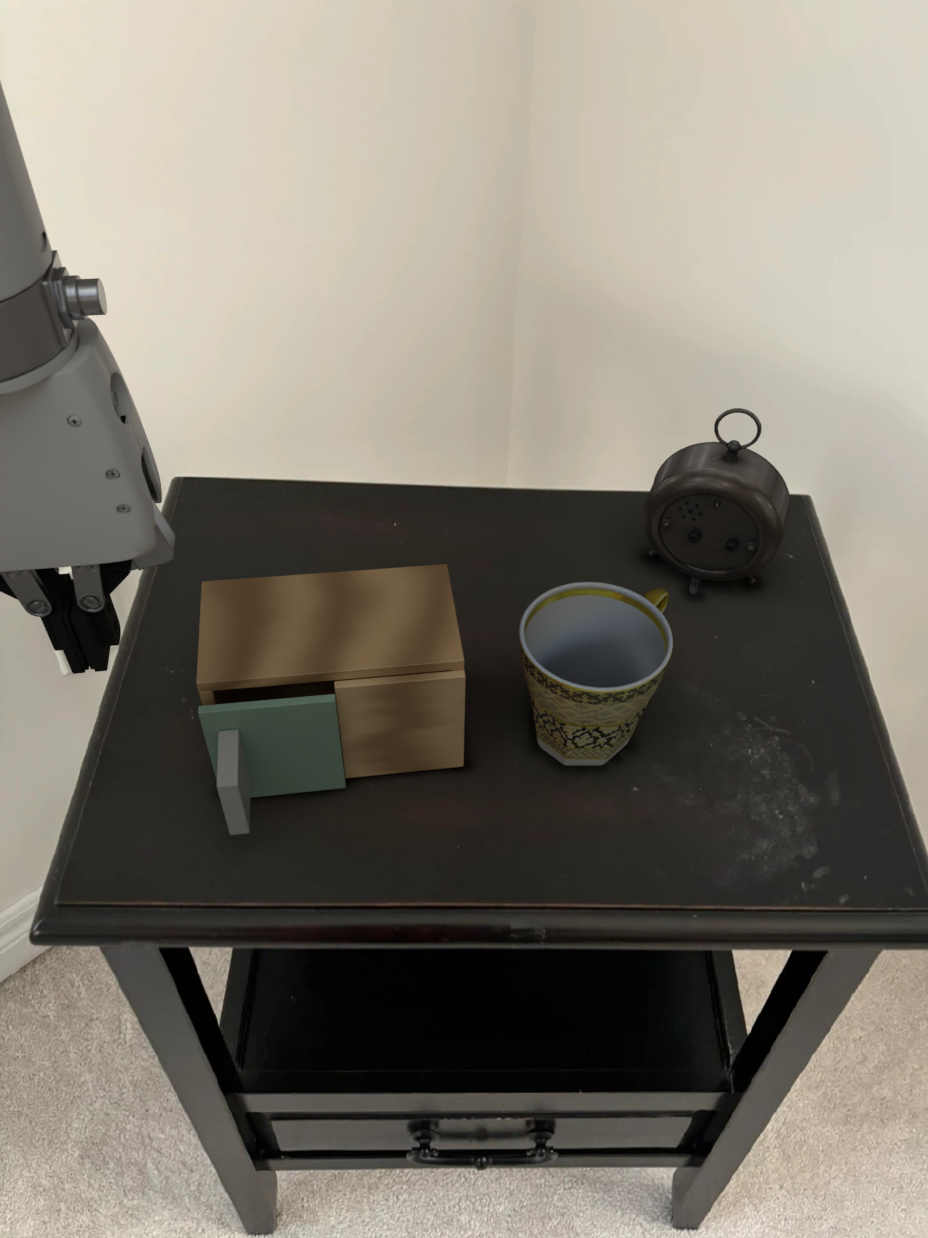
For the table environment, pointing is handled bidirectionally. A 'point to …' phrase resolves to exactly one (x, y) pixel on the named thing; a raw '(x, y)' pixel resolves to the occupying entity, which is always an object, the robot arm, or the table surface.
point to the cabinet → (346, 658)
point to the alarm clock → (717, 509)
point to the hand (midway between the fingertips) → (93, 651)
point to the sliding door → (271, 750)
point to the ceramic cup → (592, 666)
